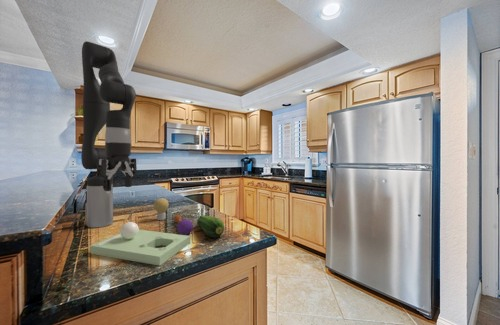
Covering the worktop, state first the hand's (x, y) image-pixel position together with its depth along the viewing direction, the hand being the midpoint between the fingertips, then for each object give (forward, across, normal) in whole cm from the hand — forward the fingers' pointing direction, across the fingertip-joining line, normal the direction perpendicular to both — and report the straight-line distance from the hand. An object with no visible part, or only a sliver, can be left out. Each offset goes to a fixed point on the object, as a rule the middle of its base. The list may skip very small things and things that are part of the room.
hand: (118, 188), depth 75 cm
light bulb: (+19, -26, -2) cm, 33 cm away
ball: (+13, +2, +6) cm, 15 cm away
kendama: (+19, -18, +14) cm, 30 cm away
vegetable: (+19, -18, +26) cm, 37 cm away
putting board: (+19, +2, +12) cm, 22 cm away
